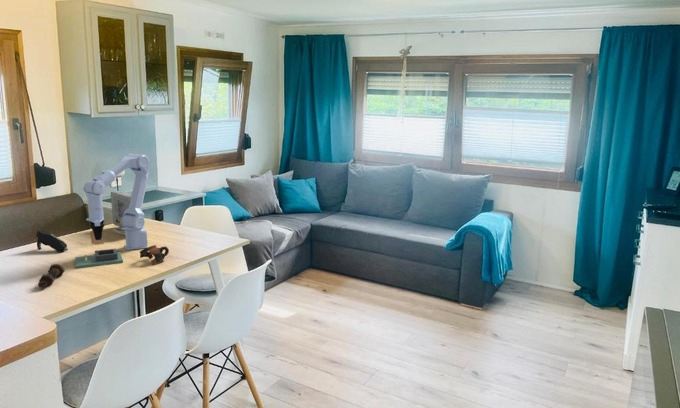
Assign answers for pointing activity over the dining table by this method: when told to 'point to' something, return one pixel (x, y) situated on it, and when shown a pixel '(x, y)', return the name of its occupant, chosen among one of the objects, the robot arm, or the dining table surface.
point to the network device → (119, 208)
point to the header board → (99, 258)
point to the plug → (95, 239)
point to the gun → (50, 241)
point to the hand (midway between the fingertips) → (98, 238)
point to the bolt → (51, 275)
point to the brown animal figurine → (154, 253)
